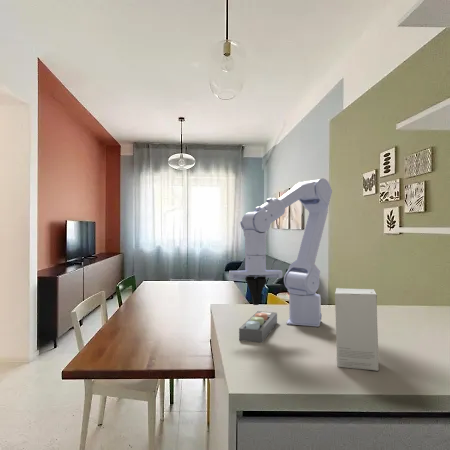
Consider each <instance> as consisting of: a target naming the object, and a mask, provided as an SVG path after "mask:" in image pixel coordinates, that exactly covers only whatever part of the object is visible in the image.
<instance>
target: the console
mask: <svg viewBox="0 0 450 450" xmlns="http://www.w3.org/2000/svg"><path fill="white" fill-rule="evenodd" d="M256 313H266V314H267V315H268V320H267V321H266V320H264V325H260V329H259V330H255V329H246V322H249V321H251V318H252V317H255V314H256ZM246 322H244V323H243V325H241V326H240V327H239V328H238V333H239V335H238V337H239V338H238V339H239V341H244V342H251V343H252V342H254V343H263V342H264V341H265V339H266V338H267V337H268V336H269V334H270V333H271V332H272V330H273V329H274V327H275V326H276V325H277V323H278V312H273V311H262V310H261V311H259V310H258V311H257V312H255V313H254V314H253V315H252V316H251V317H250V318H249V319H247V320H246Z"/></svg>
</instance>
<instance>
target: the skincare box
mask: <svg viewBox="0 0 450 450" xmlns="http://www.w3.org/2000/svg"><path fill="white" fill-rule="evenodd" d="M334 300H335V301H334V304H335V305H334V306H335V307H334V308H335V309H334V310H335V333H336V334H335V335H336V336H335V337H336V338H335V339H336V342H335V343H336V366H337V368H344V369H345V368H346V369H354V370H355V369H357V370H368V371H374V372H375V371H376V372H377V371H379V369H380V366H379V365H380V364H379V339H378V337H379V336H378V335H379V332H378V330H379V329H378V304H377V303H378V301H377V300H378V294H377V293H376V291H375V289H374V288H347V287H346V288H345V287H344V288H341V287H336V288H335V292H334Z"/></svg>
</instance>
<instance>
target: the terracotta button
mask: <svg viewBox="0 0 450 450" xmlns="http://www.w3.org/2000/svg"><path fill="white" fill-rule="evenodd" d="M255 313H256V312H255ZM255 313H254V314H255ZM255 317H262V318H264V320H266V321H267V320H268V315H267V314H266V313H256V314H255Z"/></svg>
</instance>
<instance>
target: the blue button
mask: <svg viewBox="0 0 450 450" xmlns="http://www.w3.org/2000/svg"><path fill="white" fill-rule="evenodd" d="M245 323H246V329H255V330H259V329H260V323H259V322H257V321H249V322H247V321H245Z"/></svg>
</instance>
